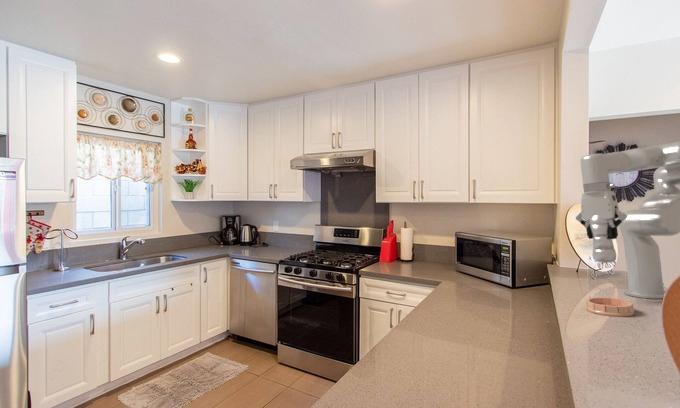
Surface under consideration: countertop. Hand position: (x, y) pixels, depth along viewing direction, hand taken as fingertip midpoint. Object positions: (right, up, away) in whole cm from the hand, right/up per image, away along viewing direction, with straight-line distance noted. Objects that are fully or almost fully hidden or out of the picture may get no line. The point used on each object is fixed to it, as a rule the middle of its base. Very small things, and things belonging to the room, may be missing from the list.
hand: (602, 238), depth 116 cm
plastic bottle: (+1, -9, 0) cm, 9 cm away
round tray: (-6, -23, -11) cm, 26 cm away
